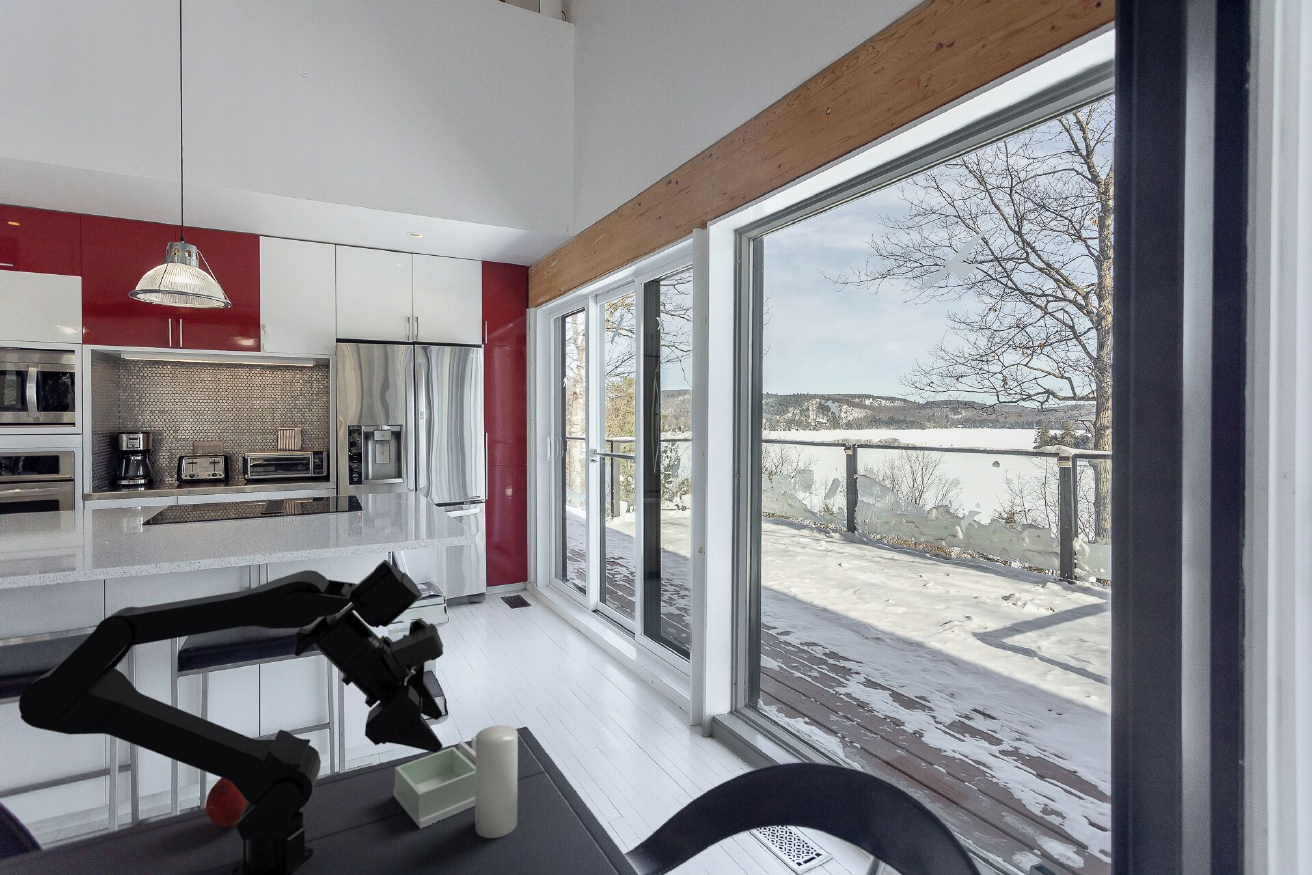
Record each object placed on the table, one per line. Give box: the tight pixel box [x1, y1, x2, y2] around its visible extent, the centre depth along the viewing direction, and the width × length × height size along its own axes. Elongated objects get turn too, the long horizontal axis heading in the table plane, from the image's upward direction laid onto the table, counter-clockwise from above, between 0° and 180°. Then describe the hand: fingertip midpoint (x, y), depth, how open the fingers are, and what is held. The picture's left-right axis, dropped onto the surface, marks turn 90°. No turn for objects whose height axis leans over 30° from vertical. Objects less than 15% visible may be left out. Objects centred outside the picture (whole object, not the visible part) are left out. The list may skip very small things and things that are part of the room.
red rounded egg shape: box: [205, 777, 248, 827], centre depth 86 cm, size 6×6×8 cm
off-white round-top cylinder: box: [474, 724, 519, 839], centre depth 87 cm, size 6×6×12 cm
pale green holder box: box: [393, 735, 476, 829], centre depth 94 cm, size 13×10×5 cm
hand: (439, 732), depth 85 cm, fingers open, 9 cm apart
